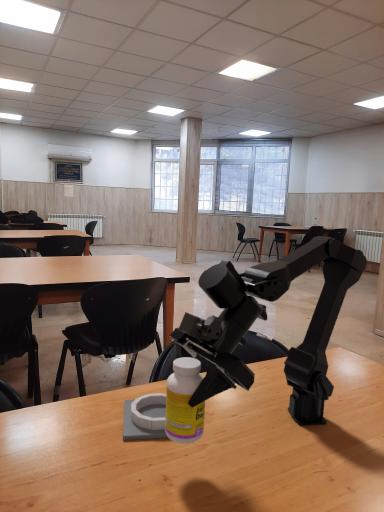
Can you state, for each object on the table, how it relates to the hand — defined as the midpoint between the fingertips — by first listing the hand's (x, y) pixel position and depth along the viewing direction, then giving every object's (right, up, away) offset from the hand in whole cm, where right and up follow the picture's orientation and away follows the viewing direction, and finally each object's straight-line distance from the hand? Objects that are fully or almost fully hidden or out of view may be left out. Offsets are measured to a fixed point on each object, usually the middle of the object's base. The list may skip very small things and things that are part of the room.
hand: (178, 396), depth 64 cm
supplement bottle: (+1, -7, +2) cm, 7 cm away
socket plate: (-5, -11, +17) cm, 21 cm away
